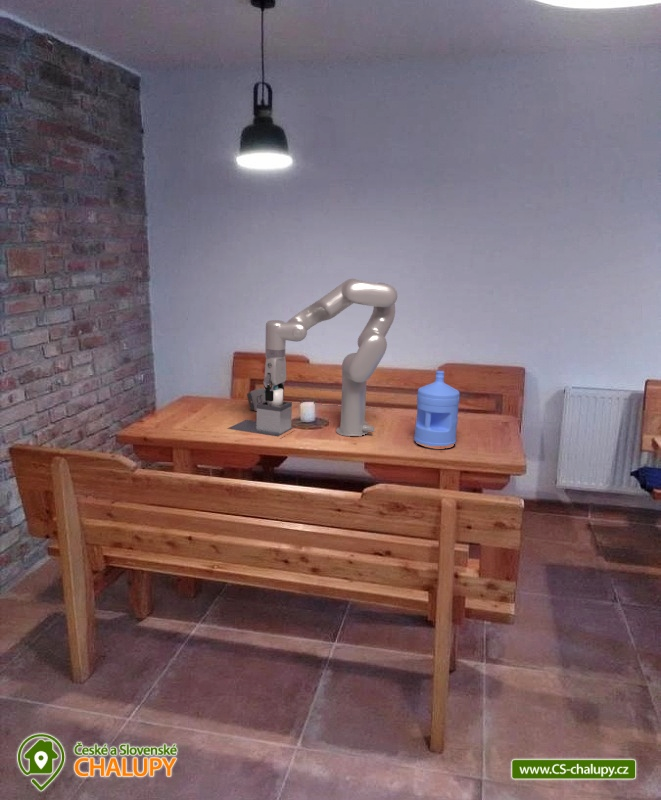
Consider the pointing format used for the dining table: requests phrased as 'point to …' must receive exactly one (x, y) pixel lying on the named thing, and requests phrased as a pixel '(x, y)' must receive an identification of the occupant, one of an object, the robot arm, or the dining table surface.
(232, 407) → the dining table surface
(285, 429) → the grey box
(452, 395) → the water jug
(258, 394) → the electrical switch
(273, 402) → the pump
